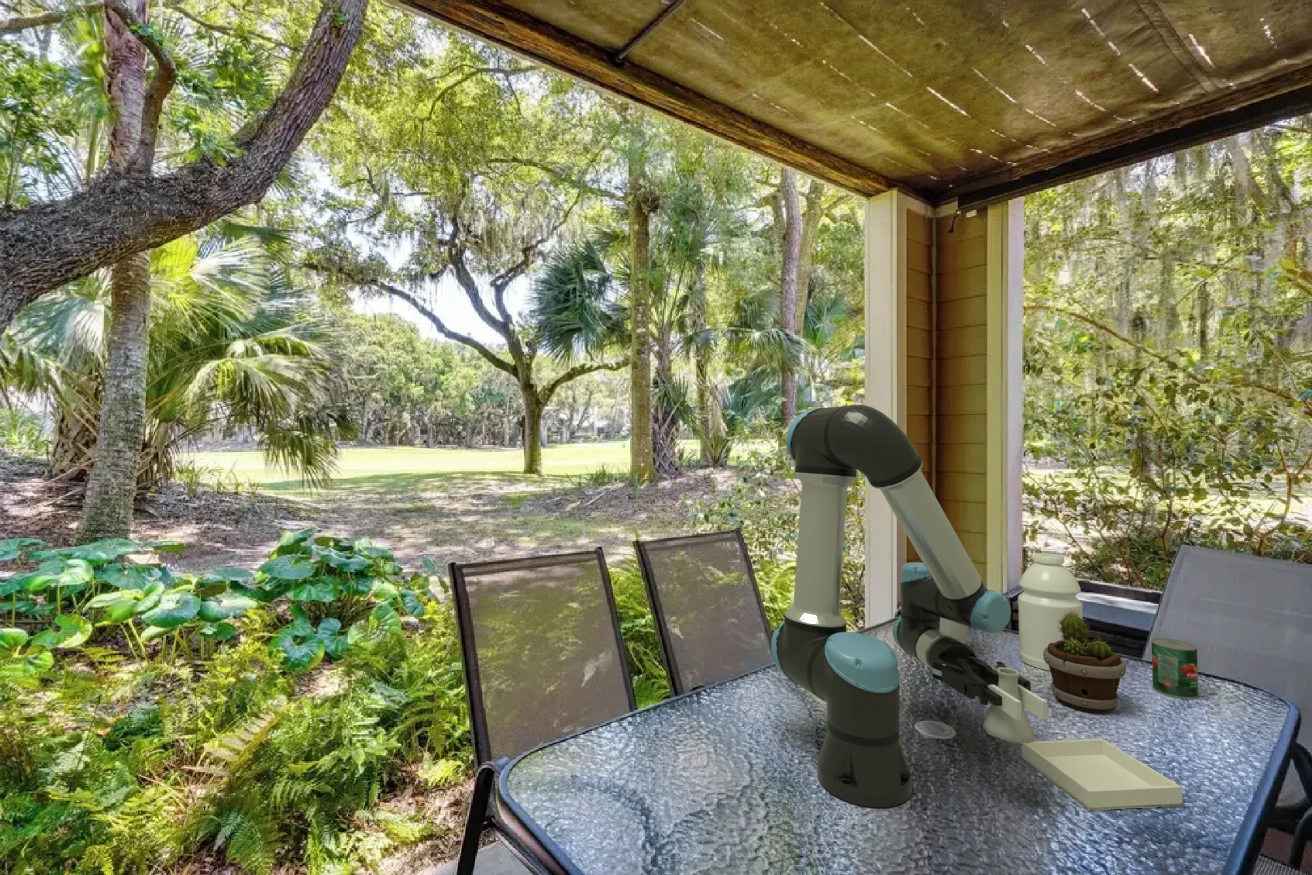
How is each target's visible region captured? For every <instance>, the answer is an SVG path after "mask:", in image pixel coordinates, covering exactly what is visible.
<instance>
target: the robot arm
mask: <svg viewBox="0 0 1312 875" xmlns="http://www.w3.org/2000/svg"><path fill="white" fill-rule="evenodd" d="M785 445H786V450H787V453H788V454H789V456H790V458H791V460H792V461H793V462H794V463H795V465H794V466H795V468H794V475H795V476H796V477H797V479H799V482H800V483H801V492H800V494H801V495H800V507H799V521H798V533H797V535H798V536H797V547H796V562H795V576H794V591H793V605H792V606H791V607H789V608H788V609H787V610H786V611H785V612H784V620H783V621H781V622H780V623H779V624H778V628H776V629H775V630H774V632H773V635H772V638H771V644H770V645H771V646H770V651H771V656H772V660H773V662H774V664H775V666H776V668H777V669H778V670H779V671H780V672H781V673H782V674H783V675H784V676H785V677H786V678H787V679H788V680H789V681H790V682H791V683H793V684H795V685H796V686H798V687H799V686H800V687H801V688H803V690H806V691H807V692H808V693H811V694H812V695H814V696H815V697H817V698H818V699H820V700H822V701H823V702H824V703H825V704H826V723H827V724H826V732H825V736H824V740H823V742H822V745H821V748H820V752H819V754H818V757H817V762H816V764H817V765H816V767H817V769H816V770H817V772H816V773H817V774H816V775H817V779H818V781H819V783H820V784H821V785H822V787H823V788H824V789H825V790H826V791H828V792H829V793H830V794H831V795H833V796H835V797H837V798H838V799H840V800H842V801H845V802H848V803H851V804H853V805H859V806H863V807H868V808H890V807H895V806H898V805H899V806H900V805H901V804H903V803H905V802H906V801H908V800H909V799H910V797H911V795H912V792H913V783H912V782H913V778H912V772H911V769H910V767H909V764H908V761H907V758H906V755H905V752H904V750H903V746H902V744H901V739H900V682H901V681H900V679H901V678H900V676H901V674H900V672H899V663H898V657H897V655H896V653H895V651H894V650H893V648H891V646H889V644H888V643H886V642H884V641H882V640H881V639H878V638H877V637H875V636H872V635H868V634H866V635H864V634H862V633H860V632H853V631H847V625H848V624H847V623H848V622H847V620H846V619H845V617H844V616H843V614H841V612H840V602H841V588H842V586H841V585H842V574H843V573H842V572H843V571H842V570H843V558H844V557H843V556H844V542H845V528H846V527H845V526H846V512H847V499H848V498H847V496H848V487H850V485H851V484H852V483H853V482H854V481H856V480H857V473H858V472H860V473H862V474H863V475H864V477H865V478H866V480H867V481H868V483H869V484H870V486H871V487H872V488H874V489H879V490H880V492H881V493H882V495H883V496H884V498H885V500H886V501H887V503H888V505H889V507H890V509H891V510H892V512H893V513H894V515H895V517H896V518H897V519H896V520H897V521H898V522H899V524H900V525H901V528H902V530H903V531H904V533H905V535H906V536H907V537H908V540H909V541H910V543H911V544H912V546H913V547H914V550H915V551H916V553H917V555H918V556H919V558H920V560H921V561H922V562H913V561H912V562H907V563H904V564H903V565H902V566H901V568H900V569H901V571H900V572H901V573H900V581H899V585H900V617H898V618H897V620H896V621H895V623H894V624H893V627H892V630H891V631H892V638H893V639H894V642H895V643H896V644H897V645H898V647H900V648H901V649H902V651H903V652H905V654H908V655H909V656H911V657H913V658H915V659H916V660H918V661H919V662H920V663H922V664H923V665H925V666H926V667H927V668H929V669H930V670H931V672H932V673H931V677H932V678H933V679H936V680H937V681H941V682H942V683H944V684H945V685H947V686H949V687H950V688H952V689H954V690H955V691H957V692H958V693H960V694H962V695H963V696H965V697H966V698H967V699H970V700H974V699H976V697H978V698H979V704H980V705H983V706H988V705H989V703H990V704H991V705H992V704H993V705H995V706H997V707H998V708H1000V709H1001V710H1003V711H1004V712H1006V713H1007V714H1009V715H1010V716H1012V717H1013V718H1015V719H1016V720H1022V711H1021V701H1022V704H1023V707H1024V709H1025V710H1027V711H1029V712H1030V713H1032V714H1033V715H1034V716H1037V717H1038V718H1040V719H1041V720H1048V700H1046V699H1044V698H1042V697H1040V696H1039V695H1037V694H1036V693H1034V692H1033V691H1032V682H1031V681H1030V680H1028V679H1027V678H1024V676H1022V675H1020V676H1019V677H1018V689H1019V694H1020V698H1021V701H1019V700H1018V699H1016V698H1014V697H1013V696H1011V695H1010V694H1008V693H1006V692H1005V691H1003V690H1002V689H1000V688H999V687H998V682H999V675H998V673H997V671H996V670H997V668H999V667H1004V668H1008V667H1007V666H1006V664H1005V663H1004V662H1002V661H996V662H995V663H994V664H988V663H987V662H986V661H985V660H982V659H979V658H977V656H976V654H975V653H974V651H973V650H972V649H971V648H970V647H969V646H968V645H967V644H964V643H962V642H960V641H958V640H956V639H955V638H953V637H951V636H950V635H948V634H946V633H944V632H942V631H941V630H940V617H941V618H944V619H947V620H950V621H953V622H956V623H959V624H962V625H965V626H968V628H970V629H973V630H974V631H982V632H986V633H989V634H997V633H1000V632H1002V631H1003V630H1004V629H1005V628H1006V626H1008V624H1009V622H1010V620H1011V613H1012V610H1011V605H1010V602H1009V599H1008V598H1007V597H1006V596H1005V595H1004V594H1002V593H1000V592H996V591H995V590H992V589H988V588H987V587H986V584H985V583H984V581H983V580H982V577H981V576H980V574H979V572H978V571H977V569H976V566H975V565H974V563H973V562H972V560H971V557H970V556H969V555H968V553H967V551H966V549H965V547H964V546H963V544H962V541H960V538H959V536H958V535H957V533H956V531H955V530H954V528H953V526H952V524H951V521H950V520H949V519H948V517H947V514H946V513H945V512H944V510H943V508H942V507H941V506H942V505H941V504H940V503H939V500H938V499H937V498H936V495H935V493H934V492H933V490H932V488H931V486H930V485H929V483H928V481H927V479H926V478H925V475H924V473H923V472H922V468H923V465H924V464H923V463H924V462H923V459H922V458H921V456H920V454H919V452H918V451H917V449H916V447H915V446H914V444H913V443H912V442H911V440H910V439H909V437H908V436H907V434H905V432H904V431H903V430H902V429H901V428H900V427H899V425H897V424H896V422H895V421H893V419H891V418H890V417H889V416H887V415H886V414H885V413H884V412H882V411H880V410H878V409H876V408H874V407H873V406H869V405H864V404H850V405H843V406H831V407H828V406H827V407H818V408H814V409H810V410H807V411H805V412H803V413H801V414H799V415H798V416H797V417H796V418H794V420H793V421H792V422H791V424H790V425H789V428H788V429H787V433H786V438H785Z"/></svg>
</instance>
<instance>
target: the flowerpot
mask: <svg viewBox="0 0 1312 875" xmlns="http://www.w3.org/2000/svg"><path fill="white" fill-rule="evenodd" d="M1070 608H1071V607H1070ZM1074 611H1075V610H1074ZM1074 611H1073V613H1074ZM1066 612H1067V611H1066ZM1071 612H1072V610H1071ZM1071 612H1068V613H1071ZM1068 613H1065V614H1068ZM1073 613H1072V614H1068V615H1065V616H1066V617H1065V618H1063V620H1061V619H1062V617H1063V615H1061V616H1062V617H1060V618H1061V619H1060V620H1061V621H1059V620H1058V621H1059V623H1060V624H1061V628H1059V630H1060V631H1061V632H1062V634H1063V636H1062V635H1061V636H1062V638H1064V639H1061V640H1060V641H1057V642H1056V643H1050V644H1048V647H1046V648H1045V649H1044V652H1043V658H1044V661H1045V662H1046V663H1047V664H1048V665H1049V668H1050V672H1049V673H1050V674H1051V679H1052V681H1051V683H1050V687H1051V690H1052V693H1053V695H1054V696H1055V698H1056V700H1058V702H1059V703H1061V704H1063V705H1065V706H1066V707H1072V708H1073V709H1074V710H1078V711H1081V712H1085V713H1090V714H1091V713H1092V714H1097V713H1099V714H1106V713H1108V712H1109V711H1113V709H1114V708H1116V707H1118V704H1119V699H1120V696H1119V694H1118V689H1119V685H1120V681H1121V678H1123V677H1125V675H1126V673H1127V665H1126V662H1125V661H1124V660H1123V659H1122V658H1121V656H1120V654H1117V653H1115V652H1114V651H1113V650H1112V648H1113V646H1111V647H1110V645H1109V644H1108V641H1106V640H1105V641H1104V640H1103V639H1102V637H1100V638H1099V636H1098V635H1096V638H1097V639H1096V638H1094V640H1089V639H1090V638H1091V637H1090V635H1091V634H1090V631H1089V629H1090V626H1089V624H1088V623H1087V622H1086V619H1085V618H1084V617H1083V616H1082V619H1081V618H1079V617H1077V616H1078V614H1075V613H1074V614H1073ZM1076 615H1077V616H1076ZM1085 622H1086V623H1085ZM1059 623H1058V624H1059ZM1059 630H1058V632H1059ZM1063 640H1065V641H1063Z"/></svg>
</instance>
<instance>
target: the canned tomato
mask: <svg viewBox="0 0 1312 875" xmlns="http://www.w3.org/2000/svg"><path fill="white" fill-rule="evenodd" d="M1150 642H1151V667H1152V668H1151V670H1152V672H1151V674H1152V676H1151V677H1152V680H1151V681H1152V689H1153V691H1156V692H1157V693H1159V694H1162V695H1164V696H1168V697H1171V698H1175V697H1176V698H1177V699H1181V700H1196V699H1198V698H1199V676H1198V674H1199V673H1198V671H1199V670H1198V669H1199V668H1198V666H1199V665H1198V646H1197V645H1196V644H1193V643H1191V642H1188V641H1185V640H1180V639H1175V638H1170V637H1169V638H1167V637H1154V638H1151V640H1150ZM1176 698H1175V699H1176Z"/></svg>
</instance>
